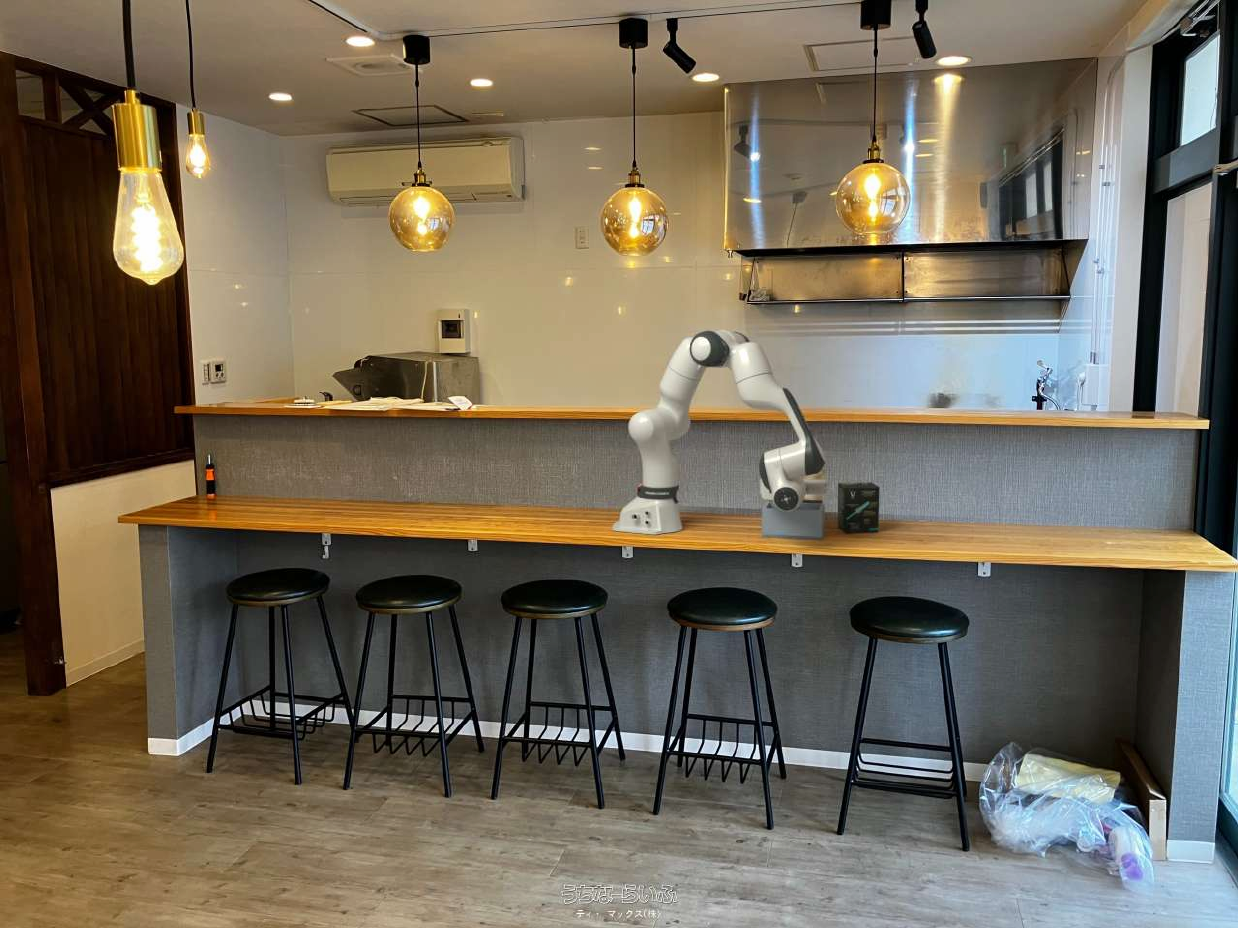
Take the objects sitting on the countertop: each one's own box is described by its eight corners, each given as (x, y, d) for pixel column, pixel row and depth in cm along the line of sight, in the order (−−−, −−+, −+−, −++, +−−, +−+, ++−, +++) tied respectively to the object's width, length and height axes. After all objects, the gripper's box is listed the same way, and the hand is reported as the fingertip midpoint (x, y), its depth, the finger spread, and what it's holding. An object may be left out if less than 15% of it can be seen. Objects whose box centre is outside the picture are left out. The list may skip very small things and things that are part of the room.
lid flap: (769, 499, 302) (774, 467, 315) (769, 502, 303) (774, 469, 316) (822, 501, 298) (826, 468, 311) (822, 504, 298) (826, 471, 311)
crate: (761, 537, 292) (762, 508, 291) (766, 529, 304) (766, 501, 302) (821, 540, 287) (822, 510, 286) (824, 531, 299) (824, 503, 298)
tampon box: (870, 526, 306) (871, 481, 304) (879, 532, 297) (880, 486, 294) (836, 527, 305) (837, 482, 303) (844, 533, 296) (845, 487, 294)
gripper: (827, 479, 278) (829, 472, 292) (756, 478, 284) (762, 471, 297) (826, 501, 279) (829, 493, 293) (756, 499, 285) (762, 491, 298)
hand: (795, 482), depth 295 cm, fingers closed
